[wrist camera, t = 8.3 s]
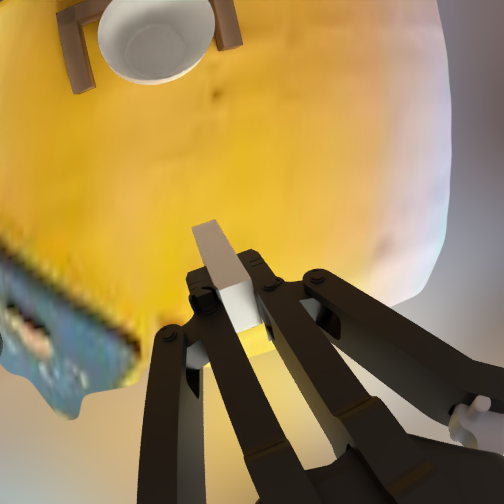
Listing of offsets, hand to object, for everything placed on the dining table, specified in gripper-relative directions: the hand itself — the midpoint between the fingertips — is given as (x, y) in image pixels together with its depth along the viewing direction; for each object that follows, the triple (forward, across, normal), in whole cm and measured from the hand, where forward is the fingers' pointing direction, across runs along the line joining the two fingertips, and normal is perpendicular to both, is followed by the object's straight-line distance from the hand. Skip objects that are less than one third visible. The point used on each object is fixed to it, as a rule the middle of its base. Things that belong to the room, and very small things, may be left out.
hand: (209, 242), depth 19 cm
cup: (+19, +1, +14) cm, 24 cm away
